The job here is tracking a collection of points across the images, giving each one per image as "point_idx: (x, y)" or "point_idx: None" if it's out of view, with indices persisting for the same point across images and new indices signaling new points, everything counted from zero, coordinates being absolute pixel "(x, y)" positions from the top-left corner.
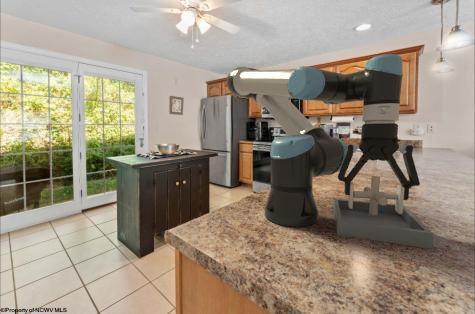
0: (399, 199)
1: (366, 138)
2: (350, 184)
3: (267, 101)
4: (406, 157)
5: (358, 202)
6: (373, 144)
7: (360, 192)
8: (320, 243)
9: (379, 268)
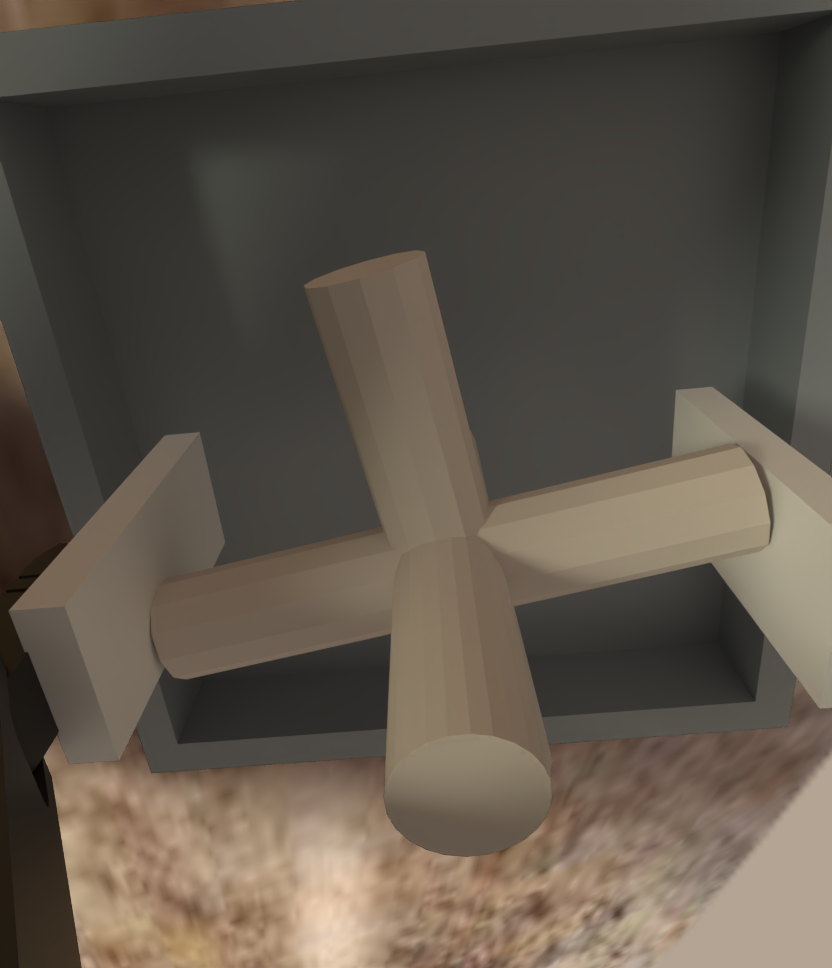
0: (734, 585)
1: None
2: (67, 749)
3: None
4: None
5: (281, 67)
6: None
7: (255, 658)
8: (120, 817)
9: (407, 901)
